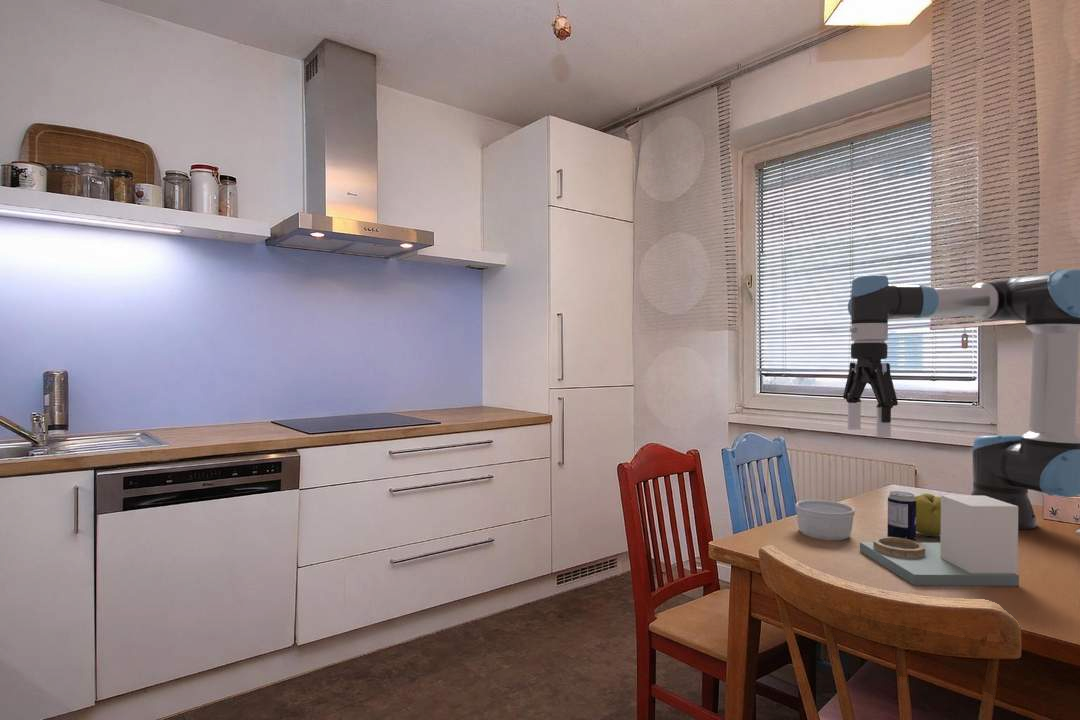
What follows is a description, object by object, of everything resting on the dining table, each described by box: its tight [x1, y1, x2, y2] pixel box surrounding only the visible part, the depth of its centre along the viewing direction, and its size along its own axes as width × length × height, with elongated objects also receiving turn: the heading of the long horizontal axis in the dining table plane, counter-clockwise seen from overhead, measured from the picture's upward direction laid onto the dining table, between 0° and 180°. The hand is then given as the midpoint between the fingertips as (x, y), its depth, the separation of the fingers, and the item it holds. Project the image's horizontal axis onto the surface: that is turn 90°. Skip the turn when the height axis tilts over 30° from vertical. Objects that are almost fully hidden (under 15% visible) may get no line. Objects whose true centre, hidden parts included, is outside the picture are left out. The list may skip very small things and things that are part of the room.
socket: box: [872, 536, 925, 558], centre depth 130 cm, size 10×10×2 cm
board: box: [859, 541, 1020, 587], centre depth 126 cm, size 20×20×12 cm
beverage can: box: [886, 491, 917, 541], centre depth 140 cm, size 6×6×12 cm
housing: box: [939, 494, 1019, 574], centre depth 121 cm, size 9×9×13 cm
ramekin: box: [795, 499, 856, 541], centre depth 149 cm, size 13×13×7 cm
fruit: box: [914, 493, 941, 537], centre depth 147 cm, size 11×12×10 cm
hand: (868, 433), depth 141 cm, fingers open, 13 cm apart
